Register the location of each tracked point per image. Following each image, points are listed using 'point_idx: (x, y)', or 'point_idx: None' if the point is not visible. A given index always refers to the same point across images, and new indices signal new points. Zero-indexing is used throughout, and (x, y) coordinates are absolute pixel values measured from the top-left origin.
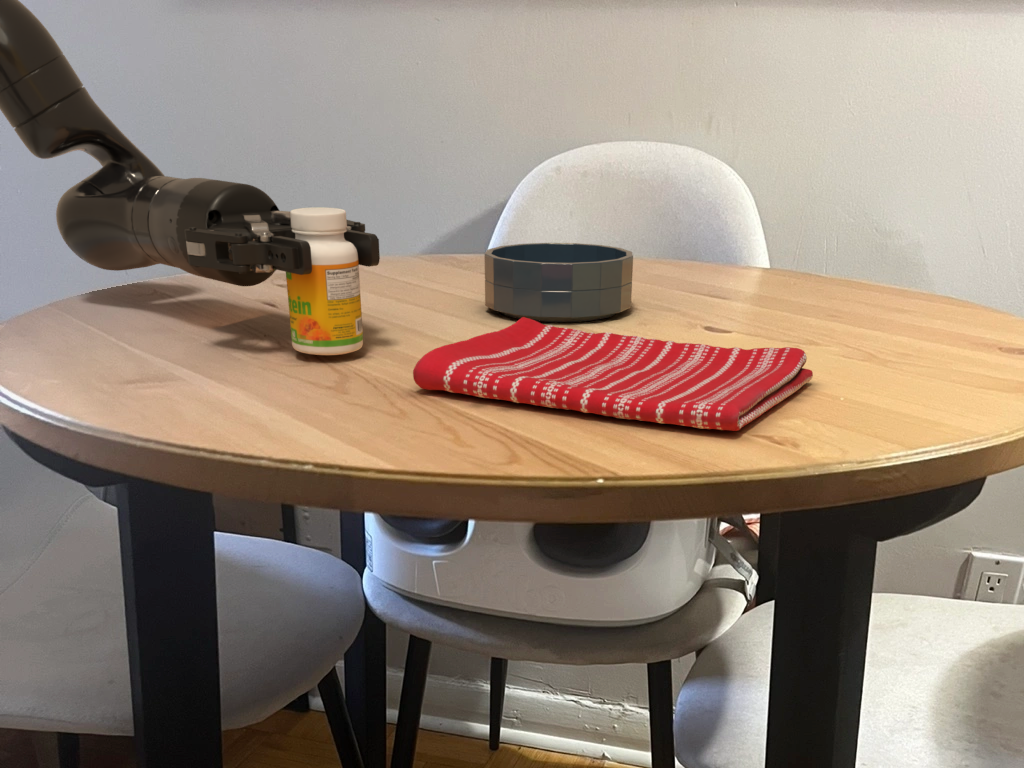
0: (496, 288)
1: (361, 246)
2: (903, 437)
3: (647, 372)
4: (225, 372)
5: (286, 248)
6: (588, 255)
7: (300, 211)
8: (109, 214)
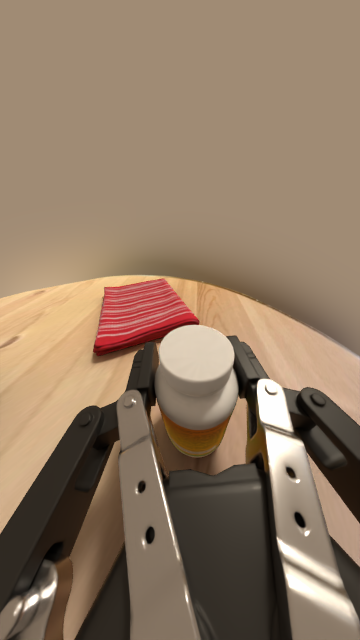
0: None
1: (155, 359)
2: (140, 278)
3: (136, 300)
4: None
5: (247, 346)
6: None
7: (220, 350)
8: None
